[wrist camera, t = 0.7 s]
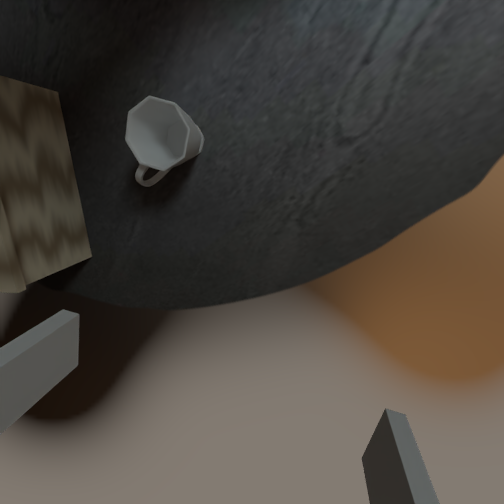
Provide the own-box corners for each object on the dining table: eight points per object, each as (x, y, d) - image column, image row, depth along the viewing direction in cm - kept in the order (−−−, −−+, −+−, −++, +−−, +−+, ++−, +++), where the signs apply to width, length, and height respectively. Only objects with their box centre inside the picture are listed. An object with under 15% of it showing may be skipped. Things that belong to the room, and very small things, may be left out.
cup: (226, 134, 36) (204, 126, 28) (182, 199, 39) (152, 208, 31) (180, 96, 35) (145, 78, 28) (140, 165, 39) (99, 166, 31)
